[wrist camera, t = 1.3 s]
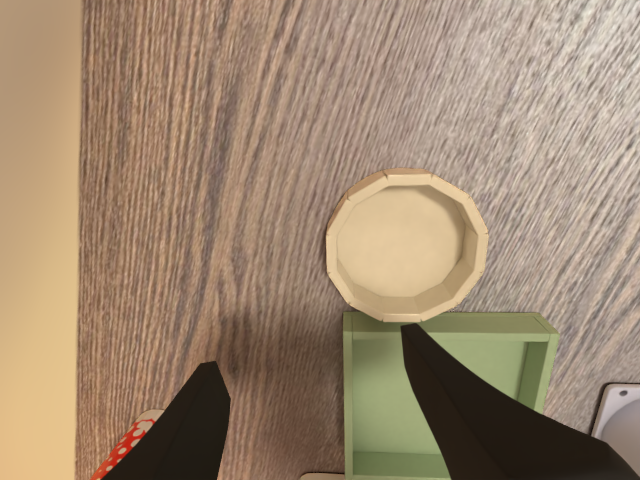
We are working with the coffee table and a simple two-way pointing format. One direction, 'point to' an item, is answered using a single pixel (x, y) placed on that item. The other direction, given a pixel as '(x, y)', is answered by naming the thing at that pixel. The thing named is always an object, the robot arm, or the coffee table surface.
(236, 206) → the coffee table surface
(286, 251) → the coffee table surface
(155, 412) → the beverage cup
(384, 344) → the tray
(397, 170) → the beige round bowl
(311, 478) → the toy character
